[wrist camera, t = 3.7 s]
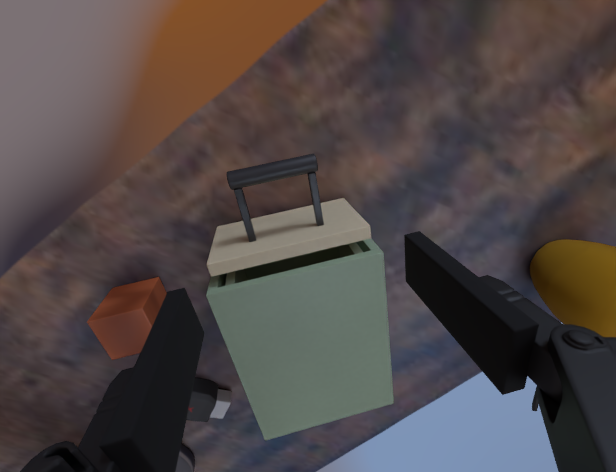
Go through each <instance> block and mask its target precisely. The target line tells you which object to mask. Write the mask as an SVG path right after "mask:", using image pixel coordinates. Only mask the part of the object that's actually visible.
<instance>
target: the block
mask: <svg viewBox="0 0 616 472" xmlns="http://www.w3.org/2000/svg"><path fill="white" fill-rule="evenodd" d="M166 294H167V293H166V291H165V288H164V286H163V284H162V282H161V280H160V278H159V277H156V278H152V279H148V280H144V281H139V282H135V283H131V284H127V285H123V286H118V287H114V288H112V289H111V290H110V292H109V293H108V294H107V296H106V297H105V298H104V300H103V301H102V302H101V304H100V305H99V306H98V308H97V309H96V310H95V312H94V313H93V314H92V316H91V317H90V318H89V320H88V321H87V323H88V325H89V326H90V328H91V329H92V331H93V332H94V334H95V335H96V337H97V338H98V340H99V341H100V343H101V344H102V346H103V347H104V349H105V350H106V352H107V353H108V355H109V356H110V358H111V359H112V360H114V359H118V358H122V357H126V356H130V355H134V354H138V353H141V350H142V348H143V346H144V344H145V341H146V339H147V337H148V335H149V332H150V330H151V328H152V326H153V324H154V321H155V319H156V317H157V315H158V312H159V310H160V308H161V306H162V303H163V301H164V299H165V297H166Z"/></svg>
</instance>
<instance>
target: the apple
mask: <svg viewBox="0 0 616 472" xmlns="http://www.w3.org/2000/svg"><path fill="white" fill-rule="evenodd" d="M530 275H531V278H532V281H533V284H534V287H535V288H536V290H537V292H538V293H539V295H540V296H541V298H542V299H543V301H544V302H545V304H546V305H547V306H548V308H549V309H550V310H551V312H552V313H553V314H554V315H555V316H556V317H557V318H558V319H559V320H560V321H561V322H562V323H563V324H572V325H577V326H582V327H585V328H587V329H590V330H592V331H595V332H596V333H598V334H599V335H601V336H603V337H616V247H614V246H610V245H606V244H601V243H595V242H589V241H582V240H569V239H564V240H556V241H552V242H549V243H547V244H546V245H544V246H543V247H542V248H541V249H539V250H538V251H537V252H536V254H535V256H534V257H533V259H532V261H531V264H530Z"/></svg>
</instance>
